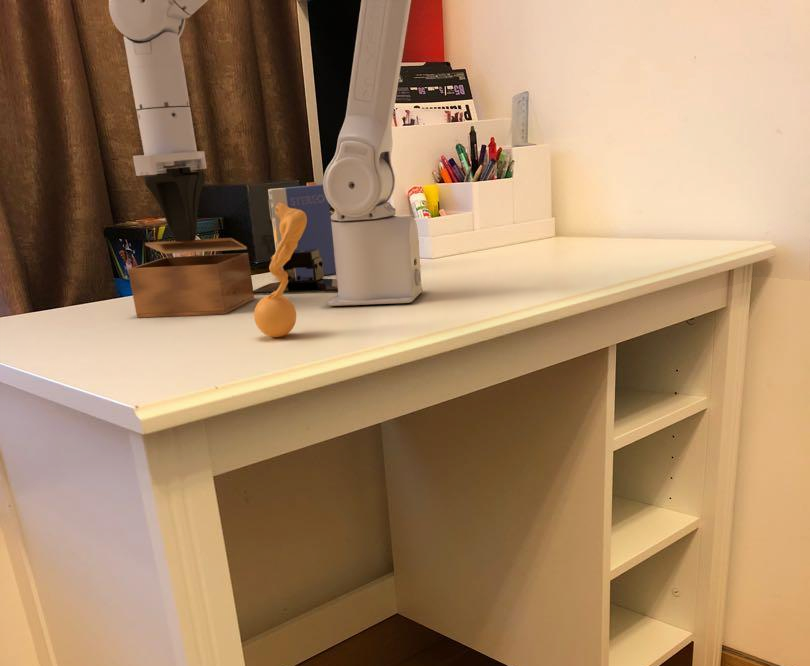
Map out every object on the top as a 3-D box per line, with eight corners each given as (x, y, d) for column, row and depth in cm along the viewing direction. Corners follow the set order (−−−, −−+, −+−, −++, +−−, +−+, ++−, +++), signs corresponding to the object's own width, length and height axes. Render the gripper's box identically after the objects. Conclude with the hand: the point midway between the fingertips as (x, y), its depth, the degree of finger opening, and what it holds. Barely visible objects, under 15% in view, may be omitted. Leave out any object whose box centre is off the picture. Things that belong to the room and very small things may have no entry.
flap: (145, 245, 102) (145, 242, 102) (164, 253, 107) (164, 251, 107) (231, 240, 100) (231, 237, 100) (246, 249, 105) (246, 246, 105)
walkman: (330, 271, 125) (321, 181, 120) (336, 273, 123) (327, 181, 118) (277, 278, 123) (265, 186, 118) (281, 280, 120) (270, 187, 115)
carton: (137, 317, 101) (127, 269, 98) (172, 302, 109) (164, 257, 107) (225, 314, 98) (217, 264, 96) (254, 298, 107) (248, 252, 105)
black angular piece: (359, 283, 114) (356, 245, 112) (343, 293, 107) (339, 253, 105) (270, 285, 117) (266, 249, 115) (249, 295, 110) (244, 256, 108)
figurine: (266, 329, 88) (249, 202, 83) (325, 325, 88) (311, 198, 83) (248, 347, 81) (228, 209, 76) (313, 343, 80) (297, 204, 75)
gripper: (158, 113, 102) (178, 235, 108) (96, 111, 89) (123, 250, 95) (214, 108, 101) (232, 232, 106) (160, 105, 88) (184, 246, 93)
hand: (185, 240), depth 100 cm, fingers closed
